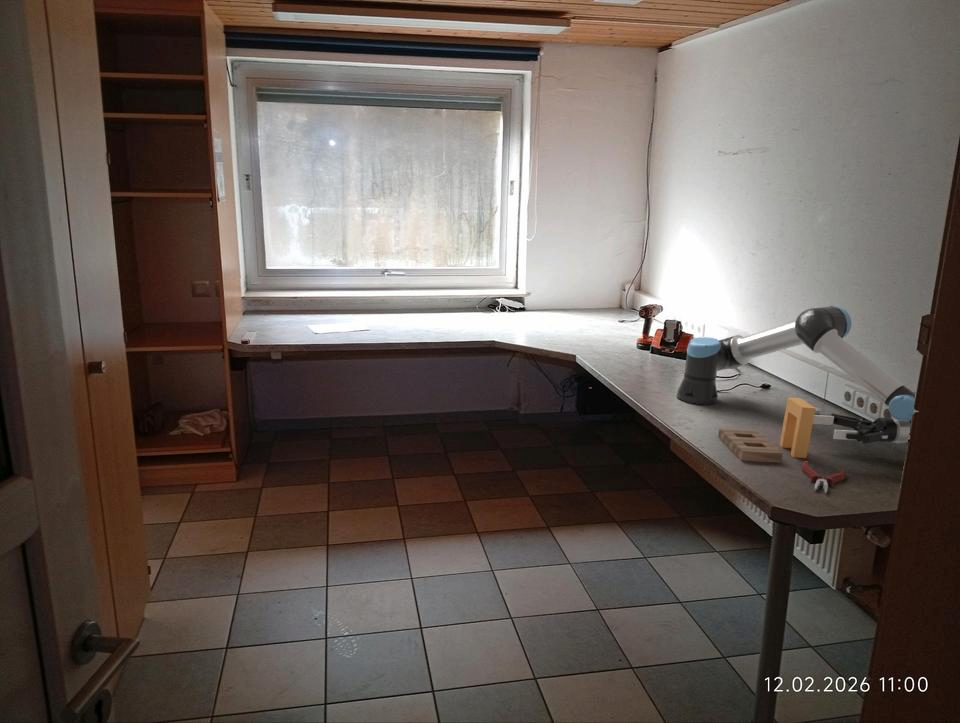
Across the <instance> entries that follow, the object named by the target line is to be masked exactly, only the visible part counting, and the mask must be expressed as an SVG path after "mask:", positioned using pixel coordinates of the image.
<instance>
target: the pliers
mask: <svg viewBox="0 0 960 723" xmlns="http://www.w3.org/2000/svg"><path fill="white" fill-rule="evenodd" d="M801 471H802V472H803V473H804V474H805V475H806V476H807V475H808V476H807V477H808V478H810V479H809V482H810V481H811V482H810V483H813V482H816V483H814V492H816V491H817V490H818V489H820V487H822V486H823V487H822V490H823V489H824V490H823V492H824V493H825V494H828V493H827V492H828V488H829V487H831V488H833V487H834V485H835V484H836V483H839V482H842V481H844V480H845V479H846V475H847V474H846V469H845V468H842V467H841V468H840V471H839V472H838V473H834V474H831V475H827V476H823V477H822V476H821V475H820V474H819V473H818V472H816V471H815V470H814V469H813V468H811V466H809V460H805V461H804V462H803V463H802V465H801ZM828 485H829V486H828Z"/></svg>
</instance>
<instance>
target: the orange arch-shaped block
mask: <svg viewBox="0 0 960 723" xmlns="http://www.w3.org/2000/svg"><path fill="white" fill-rule="evenodd" d="M816 409H817V408H816V407H815V406H813V405H811V404H810V403H809V402H807V401H805V400H804V399H802V398H801V397H787V400H786V406H785V413H784V417H783V421H782V422H783V423H782V430H781V433H780V439H779V440H780V441H779V446H780V447H781V448H782V449H783V448H784V449H790V450H791V451H790V456H791V457H793V458H801V459H807V456H808V451H809V446H810V441H811V435H812V430H813V429H812V428H813V425H814V424H813V420H814V415H816V414H815V413H816Z"/></svg>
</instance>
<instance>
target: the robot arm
mask: <svg viewBox="0 0 960 723" xmlns="http://www.w3.org/2000/svg"><path fill="white" fill-rule="evenodd" d="M851 329H852V318H851V316H850V314H849V313H848V312H847V310H845V309H844V308H843V307H840V306H835V305H830V306H823V307H822V306H821V307H811V308H808V309H805V310H804V311H802V312H801V313H800V314H799V315H798V316H797V318H796V320H794V321H791V322H788V323H783V324H781V325H778V326H775V327H771V328H769V329H765V330H761V331H759V332H756V333H752V334H750V335H745V336H742V335H740V334H737V335H733V336H730V337H726V338H724V339H723V338H722V339H717V338H714V337H710V336H704V337H701V336H699V337H694V338H692V339H691V340H690V341H689V342H688V345H687V349H686V359H685V364H684V365H685V366H684V373H683V378H682V380H681V382H680V384H679V387H678V388H677V391H676V398H679V399H678V400H680V399H681V400H680V401H682V400H683V401H682V402H685V401H686V402H685V403H689V402H690V403H689V404H693V403H696V404H695V405H701V404H703V406H704V405H705V406H706V405H707V406H708V405H716V404H717V403H718V401H719V400H718V398H719V394H718V390H717V384H716V382H717V381H716V379H717V374H718V373H717V372H719V371H724V370H733V369H737V368H739V367H741V366H744V365H747V364H748V363H750V361H751V359H755V358H759V357H761V356H765V355H770V354H773V353H775V352H776V353H777V352H779V351H782V350H787V349H790V348H793V347H797V346H798V347H799V346H801V345H804V346H806V347H807V348H809V349H810V350H811V351H812V352H813V353H815V354H819V353H820V354H821V355H823V357H824V358H827V359H828V360H829V362H831V363H833V364H834V365H836V367H838V368H839V369H841V370H842V371H843V372H844V373H846V374H847V376H849V377H850V378H852V380H854V381H856V383H858V384H859V385H860V386H861V387H863V388H864V389H865V390H867V391H868V392H869V393H871V394H872V395H873V396H874V397H875V398H877V399H878V400H880V401H881V402H882V403H883V404H885V405H886V406H887V407H888V408H887V409H888V411H889V414H890V415H891V417H877V418H876V419H874V421H873V422H872V421H870V420H867V419H866V418H864V417H854V416H848V415H842V414H837V413H831V414H830V415H822V414H821V415H820V414H818V415H817V414H814V420H813V425H827V426H828V425H829V426H833V425H838V426H841V427H844V428H845V427H846V428H849V429H853V430H849V429H848V430H847V429H834V431H833V436H832V438H833V440H845V441H846V440H847V441H858V442H861V443H862V444H871V443H875V442H876V443H877V442H879V443H895V444H896V445H899V444H900V443H903V444H909V443H908V438H909V433H910V426H911V420H912V415H913V412H914V401H915V393H916V391H912V390H911V389H909V388H908V387H907V386H905V385H904V384H903V383H902V382H900V381H899V380H898V379H896V378H895V377H894V376H893V375H891V374H890V373H889V372H888V371H886V370H884V369H883V368H882V367H880V366H879V365H878V364H877V363H876V362H874V361H872V360H871V359H870V358H869V357H867V356H866V355H865V354H864V353H862V352H861V351H859V350H858V349H857V348H856V347H854V346H853V345H851V343H849V342H848V341H847V340H845V339H844V338H845V337H847V336H848V334H849V333H850V331H851Z"/></svg>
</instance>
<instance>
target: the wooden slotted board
mask: <svg viewBox="0 0 960 723" xmlns="http://www.w3.org/2000/svg"><path fill="white" fill-rule="evenodd" d="M717 437H718V438H719V439H720V440H721V441H722V442H723V443H724V445H725V446H726V447H727V448H728V449H729V450H730V451H731V452H732V453H733V454H734V455H735V456H736V457H737V459H739V460H740V461H744V462H758V463H759V462H762V463H764V462H765V463H777V464H778V463H779V464H780V463H782V459H783V452H782V451H781V450H779V449H778V448H777V447H776V446H775V445H774V444H773V443H771V441H769V440H768V439H767V438H766V437H764V435H763V434H761V433H760V432H759V431H758V430H757V429H743V428H741V429H740V428H726V427H725V428H724V427H723V428H721V427H719V428H718V435H717Z"/></svg>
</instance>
